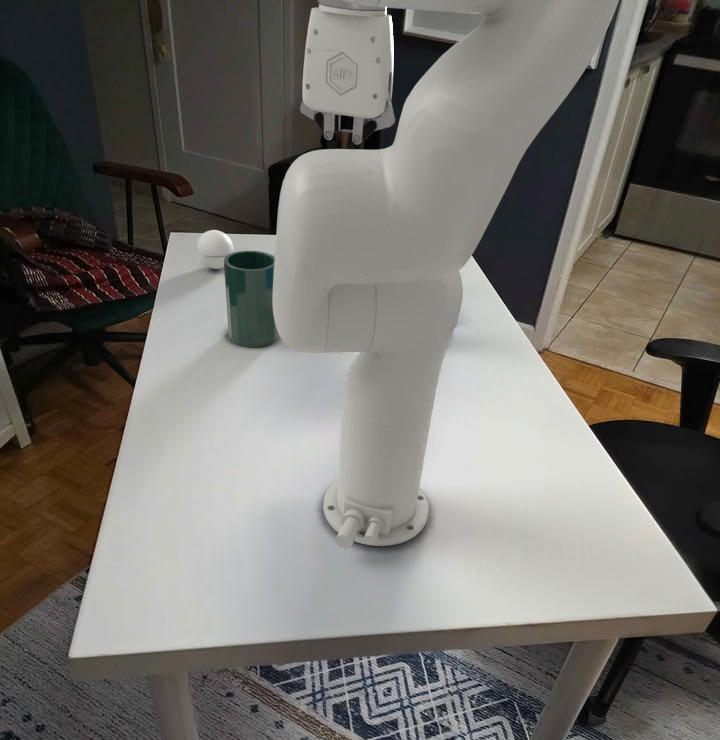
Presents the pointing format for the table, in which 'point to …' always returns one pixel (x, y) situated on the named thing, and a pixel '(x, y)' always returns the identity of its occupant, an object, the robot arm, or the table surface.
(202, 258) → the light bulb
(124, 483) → the table surface
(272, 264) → the cup
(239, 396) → the table surface
